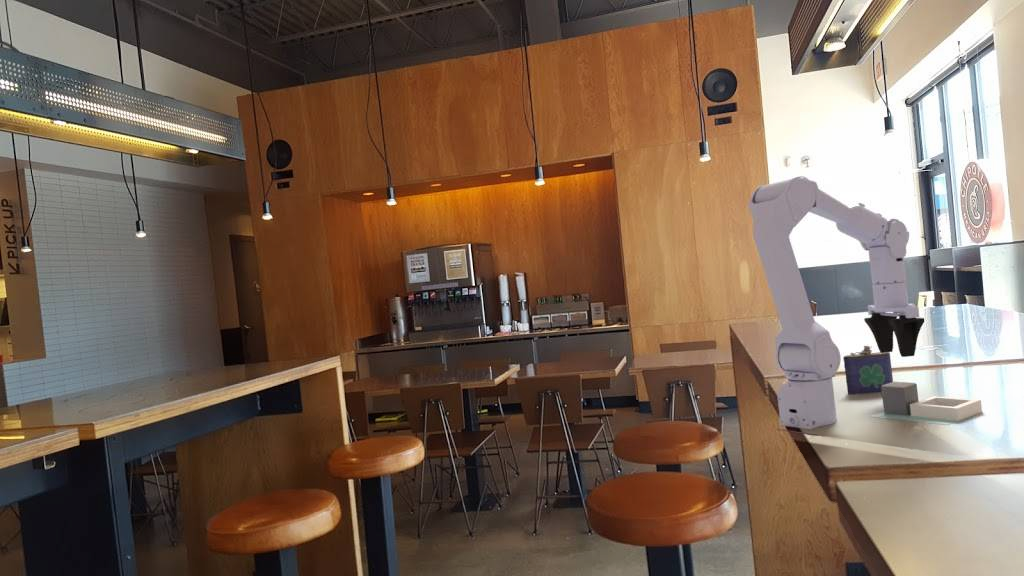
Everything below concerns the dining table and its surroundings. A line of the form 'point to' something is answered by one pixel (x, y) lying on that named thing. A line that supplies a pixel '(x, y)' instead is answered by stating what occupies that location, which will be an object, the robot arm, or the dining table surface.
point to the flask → (867, 371)
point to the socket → (946, 408)
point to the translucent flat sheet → (916, 418)
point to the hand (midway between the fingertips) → (896, 354)
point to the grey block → (899, 397)
